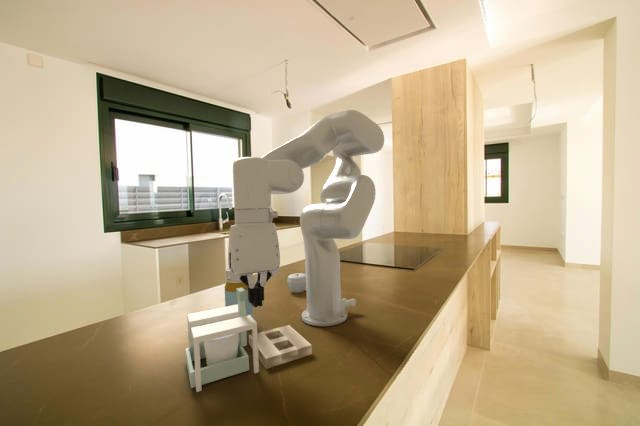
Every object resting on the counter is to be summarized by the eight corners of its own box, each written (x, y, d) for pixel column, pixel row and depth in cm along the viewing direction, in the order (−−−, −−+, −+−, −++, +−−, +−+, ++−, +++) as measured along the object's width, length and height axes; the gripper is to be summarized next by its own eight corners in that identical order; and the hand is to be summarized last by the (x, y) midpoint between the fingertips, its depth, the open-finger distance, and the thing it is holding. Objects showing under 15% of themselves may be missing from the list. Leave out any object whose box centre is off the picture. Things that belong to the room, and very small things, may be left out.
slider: (240, 346, 65) (237, 283, 64) (253, 368, 56) (250, 295, 55) (186, 361, 59) (182, 292, 59) (191, 388, 51) (186, 307, 50)
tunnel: (242, 345, 66) (240, 303, 66) (259, 372, 55) (256, 322, 55) (189, 359, 61) (187, 314, 61) (196, 392, 50) (193, 337, 50)
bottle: (258, 320, 80) (255, 266, 80) (243, 331, 74) (241, 272, 73) (236, 317, 83) (234, 265, 82) (220, 328, 76) (218, 271, 75)
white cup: (229, 377, 54) (227, 340, 54) (196, 374, 55) (194, 337, 55) (246, 357, 61) (244, 324, 60) (216, 355, 62) (214, 322, 62)
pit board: (289, 333, 72) (289, 324, 72) (312, 354, 61) (311, 344, 61) (249, 343, 67) (248, 335, 67) (266, 368, 56) (265, 358, 56)
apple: (313, 290, 106) (312, 272, 106) (300, 296, 100) (299, 277, 99) (295, 287, 111) (295, 270, 110) (282, 293, 104) (281, 275, 104)
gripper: (280, 215, 68) (282, 294, 68) (212, 219, 60) (216, 306, 61) (293, 216, 61) (296, 303, 62) (219, 220, 54) (223, 318, 54)
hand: (256, 304), depth 61 cm, fingers closed
